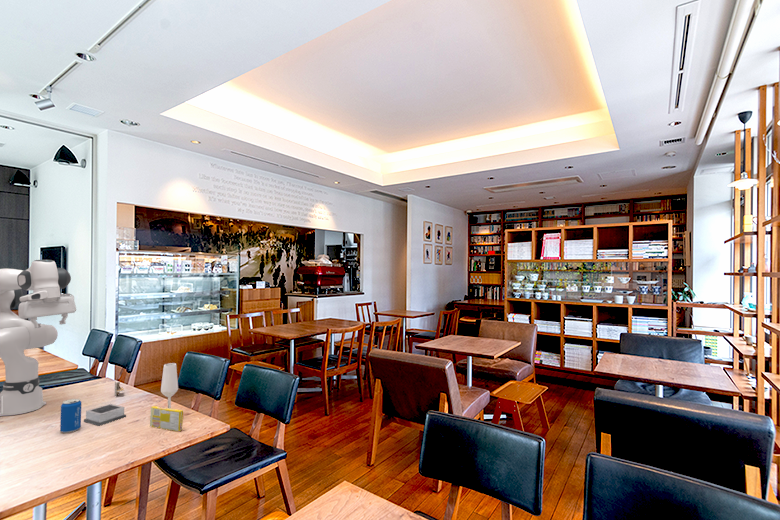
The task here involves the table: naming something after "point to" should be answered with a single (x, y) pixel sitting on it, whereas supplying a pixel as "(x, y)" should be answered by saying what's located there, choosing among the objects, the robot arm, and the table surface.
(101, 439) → the table surface
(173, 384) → the champagne flute
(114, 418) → the can holder
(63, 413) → the beverage can
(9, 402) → the robot arm
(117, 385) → the architectural model
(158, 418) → the candy box
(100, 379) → the table surface
